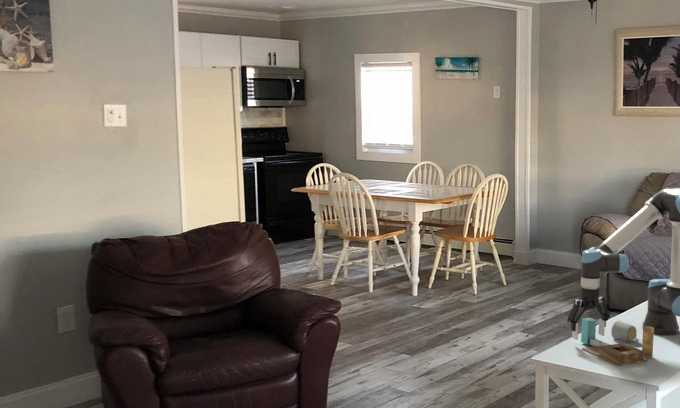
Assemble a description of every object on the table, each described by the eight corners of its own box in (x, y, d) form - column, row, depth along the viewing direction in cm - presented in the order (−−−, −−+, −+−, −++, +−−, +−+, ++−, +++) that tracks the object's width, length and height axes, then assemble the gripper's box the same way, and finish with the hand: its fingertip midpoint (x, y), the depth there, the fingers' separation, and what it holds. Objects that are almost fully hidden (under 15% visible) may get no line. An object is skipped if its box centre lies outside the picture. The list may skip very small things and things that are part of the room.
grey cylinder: (627, 343, 340) (628, 326, 339) (610, 339, 347) (611, 321, 346) (641, 339, 347) (642, 322, 346) (623, 335, 353) (624, 318, 352)
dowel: (647, 354, 326) (648, 325, 324) (654, 357, 322) (656, 328, 321) (639, 356, 324) (640, 326, 323) (646, 359, 321) (648, 329, 319)
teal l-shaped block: (588, 340, 342) (589, 317, 341) (617, 352, 326) (618, 328, 325) (581, 341, 341) (581, 318, 340) (609, 354, 325) (610, 329, 323)
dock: (609, 345, 338) (609, 336, 337) (647, 361, 318) (647, 351, 317) (581, 349, 333) (582, 340, 332) (618, 365, 313) (619, 355, 312)
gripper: (608, 282, 345) (606, 331, 348) (559, 287, 336) (557, 337, 338) (620, 286, 338) (618, 335, 341) (571, 291, 329) (569, 342, 332)
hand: (588, 336), depth 340 cm, fingers open, 13 cm apart
